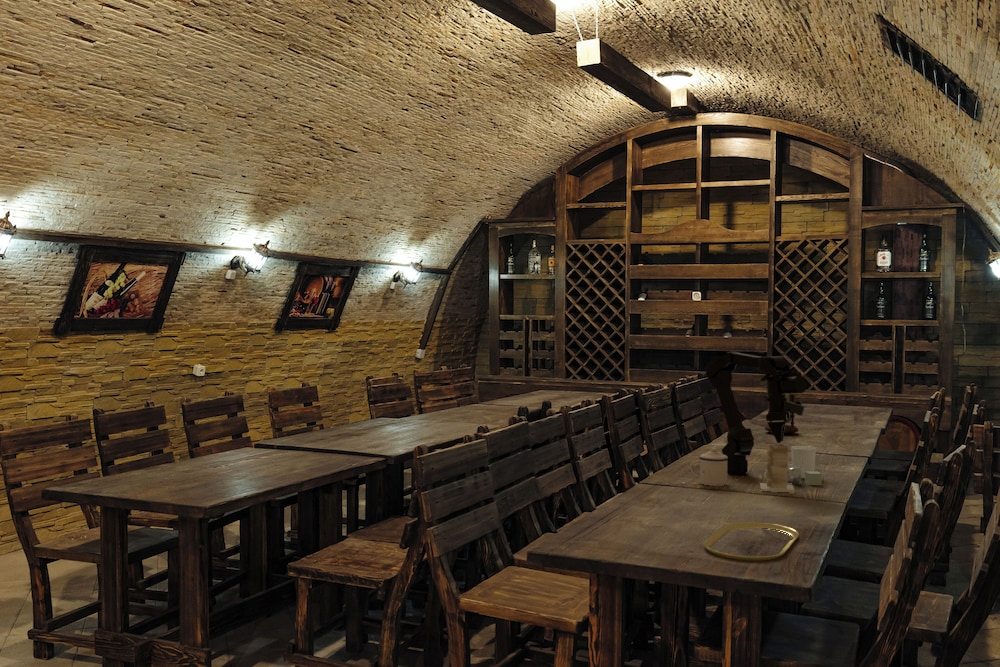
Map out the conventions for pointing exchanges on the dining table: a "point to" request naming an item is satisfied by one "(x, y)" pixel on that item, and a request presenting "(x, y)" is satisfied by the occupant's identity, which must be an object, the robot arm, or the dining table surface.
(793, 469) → the grey cylinder
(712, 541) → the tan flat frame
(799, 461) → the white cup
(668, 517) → the dining table surface
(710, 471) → the teacup with lid
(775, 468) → the oak block
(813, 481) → the sage cube
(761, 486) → the tile
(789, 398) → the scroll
